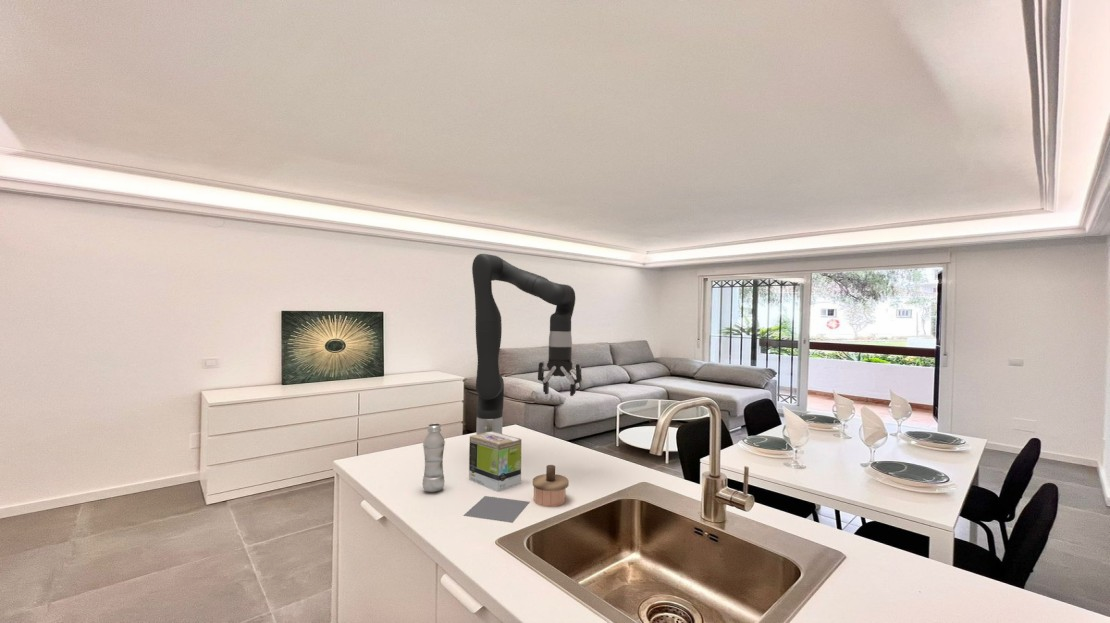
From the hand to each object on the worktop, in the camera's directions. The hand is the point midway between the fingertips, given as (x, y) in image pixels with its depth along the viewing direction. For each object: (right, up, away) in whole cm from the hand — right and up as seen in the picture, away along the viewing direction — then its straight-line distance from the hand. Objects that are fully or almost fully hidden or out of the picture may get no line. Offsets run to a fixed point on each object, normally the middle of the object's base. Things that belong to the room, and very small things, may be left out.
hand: (559, 394), depth 152 cm
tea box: (-21, -28, -3) cm, 35 cm away
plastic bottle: (-38, -28, -10) cm, 48 cm away
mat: (-17, -28, -23) cm, 40 cm away
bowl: (-3, -28, -17) cm, 33 cm away
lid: (-3, -23, -17) cm, 29 cm away
